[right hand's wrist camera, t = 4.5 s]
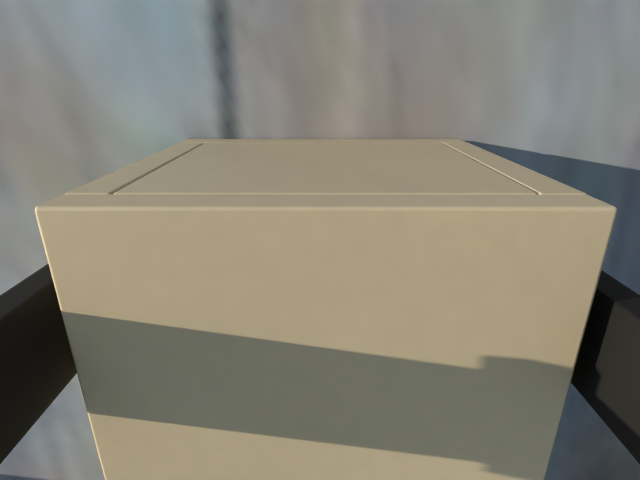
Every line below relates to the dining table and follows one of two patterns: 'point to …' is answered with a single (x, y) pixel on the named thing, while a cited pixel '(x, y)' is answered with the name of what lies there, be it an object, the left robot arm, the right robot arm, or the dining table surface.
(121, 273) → the cabinet
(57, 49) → the dining table surface
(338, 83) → the dining table surface
